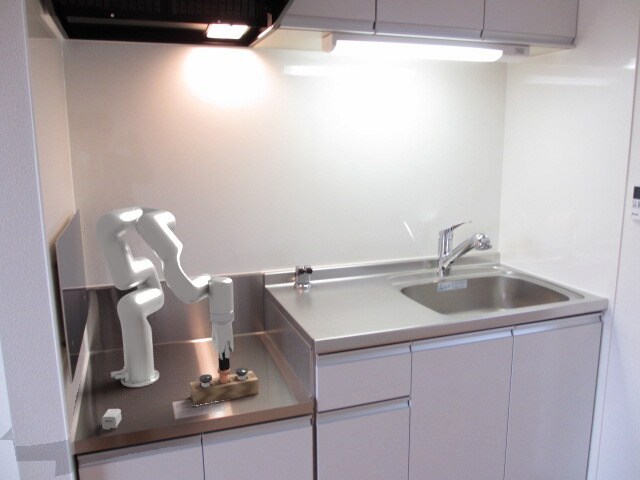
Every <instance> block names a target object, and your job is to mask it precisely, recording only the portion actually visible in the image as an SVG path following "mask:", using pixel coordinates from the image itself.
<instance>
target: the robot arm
mask: <svg viewBox="0 0 640 480" xmlns="http://www.w3.org/2000/svg"><path fill="white" fill-rule="evenodd" d="M176 226H177V222H176V218H175V216H174V215H173V214H172V213H171V212H170V211H167V210H165V209H161V208H153V207H147V206H141V205H140V206H138V205H136V206H135V205H134V206H128V207H123V208H116V209H113V210H110V211H107V212H104V213H103V214H101V216H99V217H98V219H97V220H96V222H95V226H94V236H95V238H96V241H97V244H98V245H99V247H100V249H101V251H102V254H103V256H104V259H105V263H106V265H107V268H108V272H109V276H110V277H111V278H110V279H111V281H112V282H113V285H114V287H115V288H116V289H118V290H119V291H127V290H129V289H132V288H135V287H137V289H136V290H133V291H132V292H129V293H127V294H125V295H123V296H122V297H121V298H120V299H119V301H118V302H117V305H116V309H117V310H116V311H117V316H118V318H119V322H120V327H121V333H122V334H121V335H122V345H123V346H122V347H123V361H124V365H123V368H122V369H120V370H118V371H111V372H110V375H111V376H110V377H111V378H112V379H113V378H115V380H120V383H121V384H122V385H123V386H125V387H128V388H142V387H146V386H149V385H152V384H154V383H156V382H157V381H158V380H159V378H160V372H159V371H158V370H156V368H155V363H154V349H153V348H154V346H153V331H152V327H151V325H150V323H149V320H148V319H147V317H148V316H150V315H151V314H153V313H155V312H157V311H159V310H160V309H161V308H162V307H163V306H164V304H165V293H164V290H163V288H162V284H161V280H160V278H159V275H158V271H157V269H156V266H155V265H154V263H153V262H152V261H151V260H150V259H149V258H148V257H146V256H141V255H140V256H136V257H134V256H133V252H132V250H131V247H130V246H129V244H128V242H127V241H126V240H125V239H124V238H123V237H122V236H124V235H125V234H131V233H134V232H136V233H137V234H138V235H139V236H140V238H141V239H142V240H143V241H144V242H145V243H146V245H147V246H148V247H149V249H151V251H152V252H153V253H154V254H155V256H156V257H157V258H158V259H159V260H160V262H161V268H162V269H161V270H162V274H163V278H164V282H165V283H166V285H167V287H168V288H169V289H170V290H171V291H172V293H173V294H174V295H175V296H176V297H177V298H178V299H179V300H180V301H181V302H183V303H185V304H188V305H193V304H196V303H198V302H200V301H201V300H204V299H206V298H209V317H210V323H211V345H212V348H214V350H215V352H216V353H217V355H218V368H219V369H220V371H224V370H229V369H230V370H231V367H230V365H231V364H230V358H231V357H230V355H231V353H233V351H234V335H233V333H234V332H233V324H232V323H233V322H234V321H235V304H234V301H235V300H234V281H233V280H232V279H231V278H230V277H229V276H228V277H227V276H216V275H213V274H210V273H205V272H204V273H199V274H198V275H195V276H193V277H191V278H189V277H188V276H187V275H186V274H185V272H184V271H183V269H182V267H181V265H180V256H181V254H182V252H183V250H184V246H183V243H182V242H181V241H180V240H179V239H178V237H177V236H176V235H175V233H174V231H175V229H176Z"/></svg>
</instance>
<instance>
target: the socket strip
mask: <svg viewBox="0 0 640 480" xmlns="http://www.w3.org/2000/svg"><path fill="white" fill-rule="evenodd" d="M246 378H247V379H245V380H240V381H238V380H237V374H236V373H232V374H229V383H225V384H220V380H219V376H216V377H212V380H211V386H210V387H205V388H201V382H200V381H199V380H196V381H192V382H191V381H190V382H189V395H190V399H191V401H193V402H192V404H193V403H194V404H193V406H194V405H195V406H196V405H200V404H205V403H210V404H212V403H211V402H215V401H220V402H223V401H222V400H224V401H229V400H233V399H232V398H234V399H238V398H243V397H246V396H251V395H257V394H259V379H258V377H257V376H256V374H255V373H254V372H253V370H248V373H247V374H246ZM237 397H238V398H237ZM228 399H229V400H228ZM215 403H216V402H215ZM195 406H194V407H195ZM196 407H197V406H196Z"/></svg>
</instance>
